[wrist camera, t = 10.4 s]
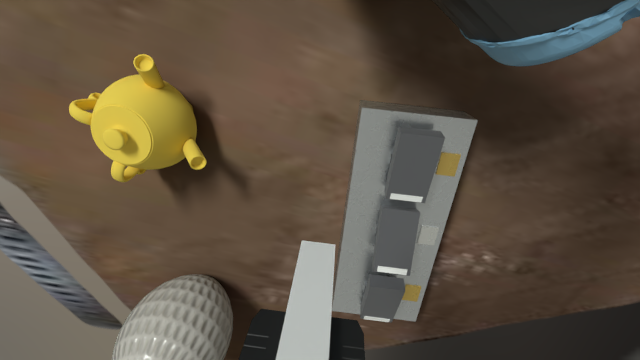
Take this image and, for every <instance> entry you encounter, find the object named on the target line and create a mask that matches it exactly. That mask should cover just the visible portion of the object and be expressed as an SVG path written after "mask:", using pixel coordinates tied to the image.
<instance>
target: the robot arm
mask: <svg viewBox="0 0 640 360" xmlns="http://www.w3.org/2000/svg"><path fill="white" fill-rule="evenodd" d="M432 1H433V2H434V3H435V4H436V5H437V6H438V7H439V8H440V9H441V10H442V11H443V12H444V13H445V14H446V15H447V16H448V17H449V18H450V19H451V20H452V21H453V22H454V23H455V24H456V25H457V27H458V28H459V29H460V31H461V33H462V35H463V36H464V37H465V38H466V39H469V41H470V42H472V43H474V44H476V45H478V46H479V47H480V48H481V49H482V50H483V51H485V52H486V53H487V54H488V55H489V56H490V57H491V58H492V59H494V60H495V61H497V62H499V63H502V64H505V65H509V66H532V65H538V64H543V63H547V62H551V61H554V60H558V59H561V58H564V57H567V56H569V55H572V54H575V53H577V52H579V51H582V50H584V49H586V48H588V47H590V46H592V45H594V44H597V43H599V42H600V41H602V40H604V39H606V38H608V37H609V36H611V35H613V34H615V33H616V32H618V31H620V30H621V28H622V24H623V22H624V21H627V20H629V19H631V18H635V17H639V16H640V0H432ZM334 258H335V245H334V244H326V243H317V242H309V241H302V242H301V247H300V251H299V256H298V261H297V265H296V270H295V274H294V279H293V283H292V288H291V292H290V297H289V301H288V306H287V310H286V312H281V311H274V310H266V309H261V310H260V311H259V312H258V313H257V315H256V316H255V317H254V318H253V319H252V321H251V324H250V327H249V330H248V334H247V336H246V339H245V342H244V346H243V348H242V351H241V354H240V357H239V360H365V351H364V333H363V331H362V329H361V327H360V325H359V323H358V321H357V320H349V319H341V318H334V317H331V312H332V294H333V276H334Z"/></svg>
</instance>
